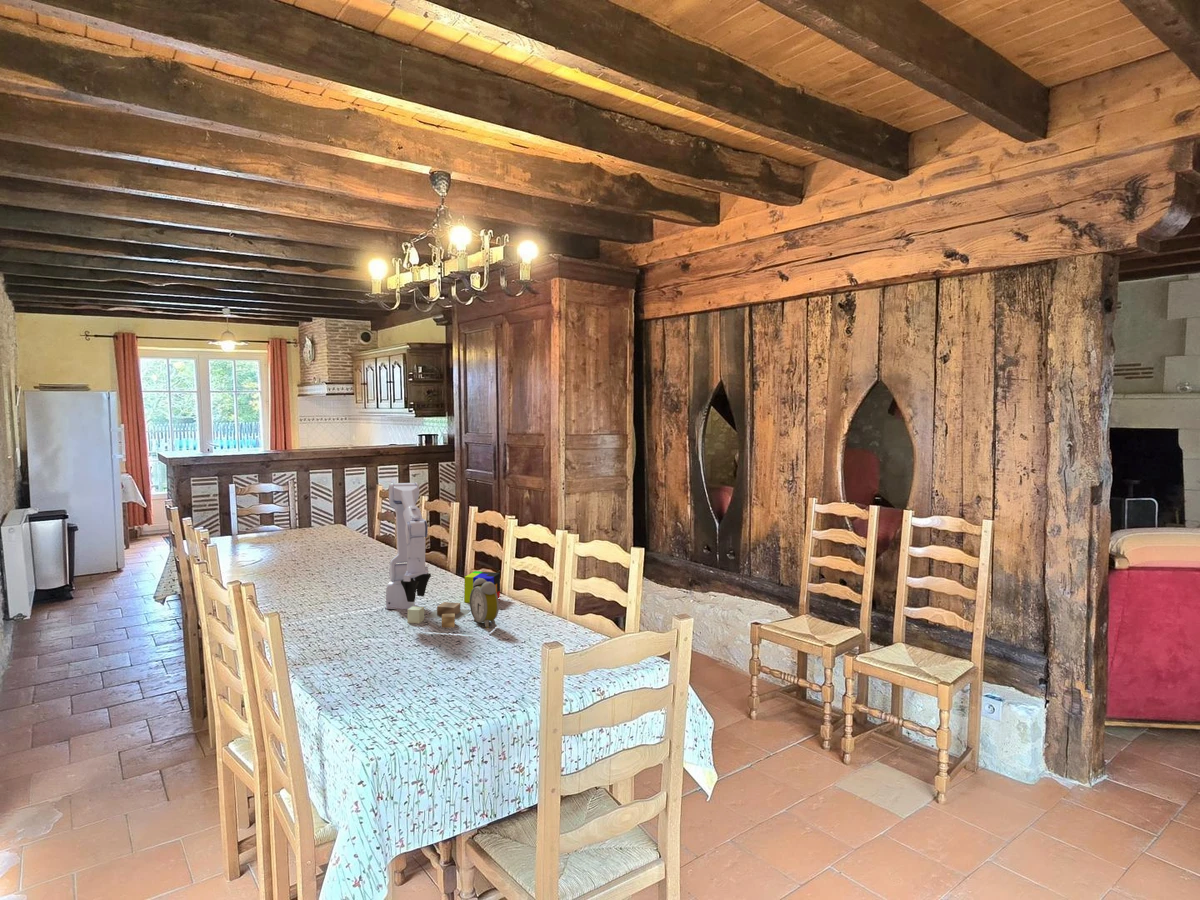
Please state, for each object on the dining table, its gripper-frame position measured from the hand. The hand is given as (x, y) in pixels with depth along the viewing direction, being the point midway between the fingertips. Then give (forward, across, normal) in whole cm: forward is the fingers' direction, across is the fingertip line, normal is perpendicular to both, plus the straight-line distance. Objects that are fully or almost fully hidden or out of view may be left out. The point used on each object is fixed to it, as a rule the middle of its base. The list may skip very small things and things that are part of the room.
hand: (416, 598), depth 231 cm
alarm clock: (+8, +3, -23) cm, 25 cm away
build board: (+8, +11, -7) cm, 15 cm away
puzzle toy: (+8, +31, -12) cm, 34 cm away
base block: (+8, +11, -7) cm, 15 cm away
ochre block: (+8, -2, -12) cm, 15 cm away
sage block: (+8, 0, 0) cm, 8 cm away
